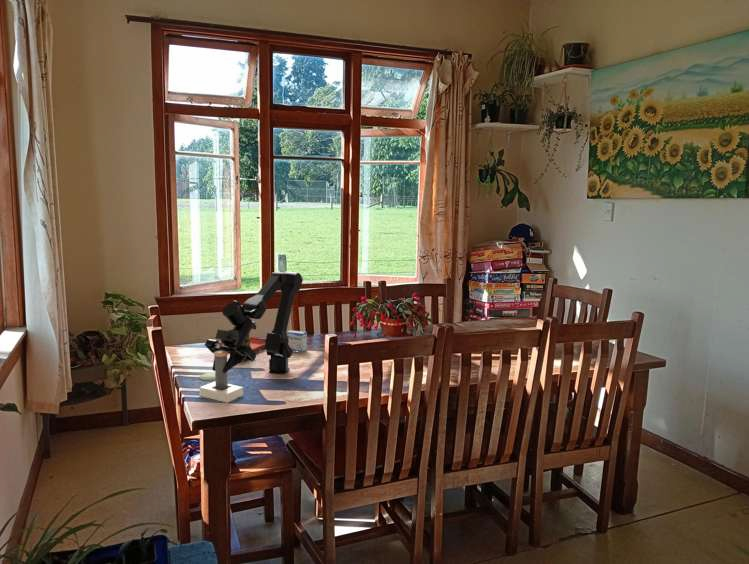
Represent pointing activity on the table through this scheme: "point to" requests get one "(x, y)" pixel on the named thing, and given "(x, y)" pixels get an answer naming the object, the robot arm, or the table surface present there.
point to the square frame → (221, 392)
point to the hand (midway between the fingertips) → (218, 371)
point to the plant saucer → (255, 343)
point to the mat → (207, 376)
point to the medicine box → (297, 340)
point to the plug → (220, 370)
